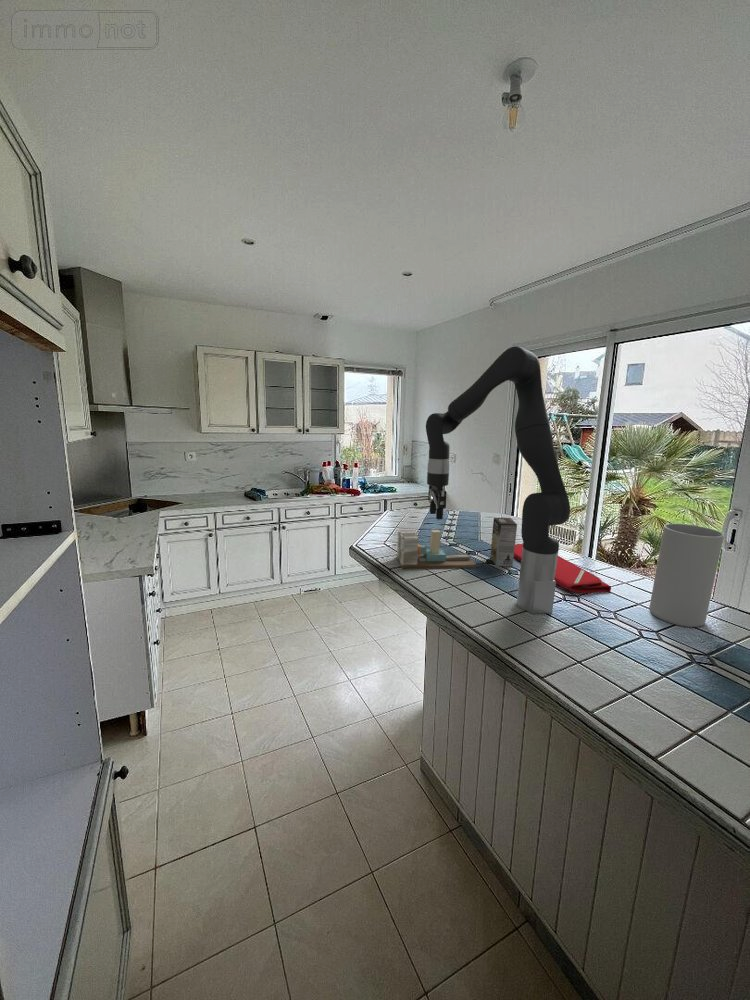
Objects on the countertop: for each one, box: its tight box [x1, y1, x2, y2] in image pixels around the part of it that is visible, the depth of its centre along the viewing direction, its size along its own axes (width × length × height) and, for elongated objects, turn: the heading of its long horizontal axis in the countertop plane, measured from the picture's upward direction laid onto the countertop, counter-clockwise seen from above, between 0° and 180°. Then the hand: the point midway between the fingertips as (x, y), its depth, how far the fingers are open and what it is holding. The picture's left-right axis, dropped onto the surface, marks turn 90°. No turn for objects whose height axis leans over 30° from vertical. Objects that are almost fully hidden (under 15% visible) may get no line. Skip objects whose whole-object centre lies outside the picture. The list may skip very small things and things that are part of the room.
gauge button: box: [418, 543, 421, 555], centre depth 145 cm, size 3×6×3 cm, turn 97°
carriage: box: [419, 529, 447, 562], centre depth 146 cm, size 6×9×11 cm, turn 97°
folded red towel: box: [514, 543, 612, 594], centre depth 144 cm, size 16×41×4 cm, turn 10°
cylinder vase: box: [649, 523, 725, 628], centre depth 108 cm, size 12×12×25 cm
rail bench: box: [396, 530, 478, 570], centre depth 146 cm, size 12×27×11 cm, turn 97°
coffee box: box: [490, 517, 518, 567], centre depth 148 cm, size 9×6×16 cm
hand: (435, 516), depth 144 cm, fingers open, 8 cm apart
